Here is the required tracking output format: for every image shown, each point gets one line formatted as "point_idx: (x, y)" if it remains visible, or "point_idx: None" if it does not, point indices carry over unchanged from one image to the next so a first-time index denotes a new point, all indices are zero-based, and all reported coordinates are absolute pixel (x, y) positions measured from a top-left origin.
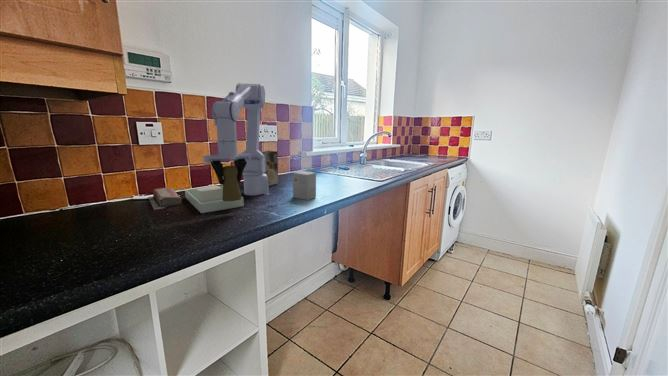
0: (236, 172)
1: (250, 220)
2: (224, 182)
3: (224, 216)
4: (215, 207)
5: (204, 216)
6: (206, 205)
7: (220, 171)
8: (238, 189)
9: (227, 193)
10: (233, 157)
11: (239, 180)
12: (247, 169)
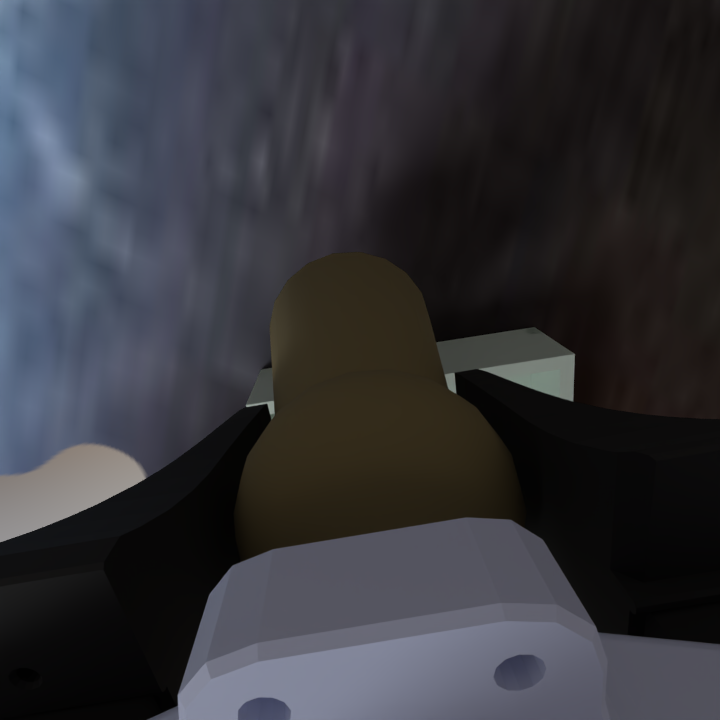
0: (277, 414)
1: (260, 79)
2: (444, 379)
3: (410, 260)
4: (457, 355)
5: (520, 315)
6: (526, 354)
7: (570, 418)
8: (289, 320)
9: (407, 296)
10: (335, 569)
11: (250, 411)
12: None
